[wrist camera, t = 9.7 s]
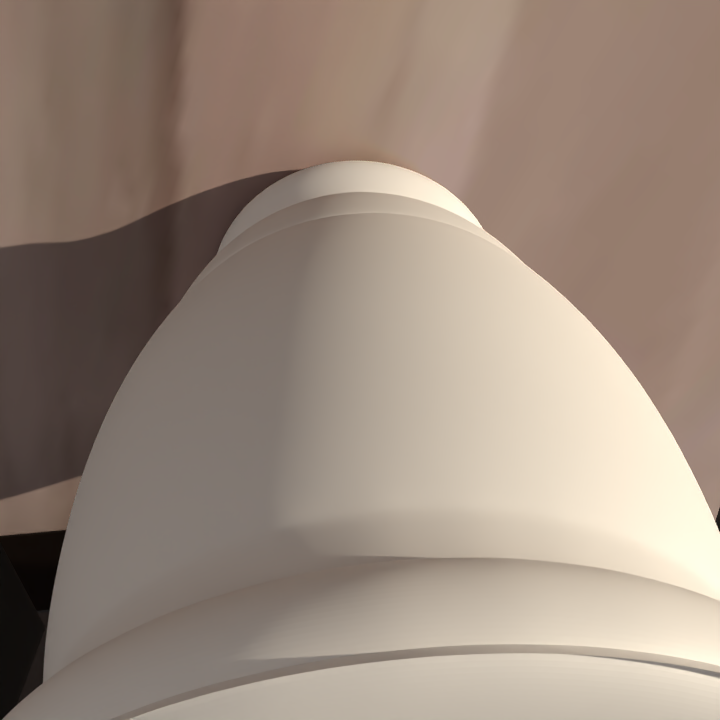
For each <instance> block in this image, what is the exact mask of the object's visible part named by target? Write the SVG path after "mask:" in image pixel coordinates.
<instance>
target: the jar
mask: <svg viewBox="0 0 720 720" xmlns="http://www.w3.org/2000/svg"><path fill="white" fill-rule="evenodd" d="M2 720H720V532H719V529H718V527H717V525H716V522H715V520H714V518H713V515H712V513H711V511H710V509H709V507H708V504H707V502H706V500H705V498H704V496H703V494H702V492H701V489H700V487H699V485H698V483H697V481H696V479H695V477H694V475H693V473H692V471H691V469H690V467H689V465H688V463H687V461H686V459H685V458H684V456H683V454H682V452H681V450H680V448H679V446H678V445H677V443H676V441H675V439H674V437H673V436H672V434H671V432H670V430H669V429H668V427H667V425H666V424H665V422H664V420H663V419H662V417H661V415H660V414H659V412H658V410H657V409H656V407H655V406H654V404H653V403H652V401H651V399H650V398H649V396H648V395H647V393H646V392H645V390H644V389H643V388H642V386H641V385H640V383H639V382H638V380H637V379H636V378H635V376H634V375H633V373H632V372H631V371H630V369H629V368H628V367H627V365H626V364H625V363H624V362H623V360H622V359H621V358H620V356H619V355H618V354H617V353H616V351H615V350H614V349H613V348H612V347H611V345H610V344H609V343H608V342H607V341H606V340H605V338H604V337H603V336H602V335H601V334H600V333H599V332H598V330H597V329H596V328H595V327H594V326H593V325H592V324H591V323H590V322H589V321H588V320H587V319H586V318H585V317H584V316H583V315H582V314H581V313H580V312H579V311H578V310H577V309H576V308H575V307H574V306H573V305H572V304H571V303H570V302H569V301H568V300H567V299H566V298H565V297H564V296H563V295H562V294H560V293H559V292H558V291H557V290H556V289H555V288H554V287H553V286H551V285H550V284H549V283H548V282H547V281H546V280H544V279H543V278H542V277H541V276H539V275H538V274H537V273H536V272H534V271H533V270H532V269H531V268H529V267H528V266H527V265H525V264H524V263H523V262H522V261H521V260H520V259H519V258H518V257H517V256H516V255H515V254H513V253H512V252H511V251H510V250H509V249H508V248H507V247H505V246H504V245H503V244H502V243H500V242H499V241H498V240H497V239H495V238H494V237H493V236H491V235H490V234H489V233H487V232H486V231H484V230H483V228H482V226H481V225H480V223H479V222H478V220H477V219H476V218H475V216H474V215H473V214H472V213H471V212H470V210H469V209H468V208H467V207H466V206H465V205H464V204H463V203H462V202H461V201H460V200H459V199H458V198H457V197H456V196H454V195H453V194H452V193H451V192H449V191H448V190H447V189H445V188H444V187H442V186H441V185H439V184H438V183H436V182H434V181H433V180H431V179H429V178H427V177H425V176H423V175H421V174H419V173H416V172H414V171H411V170H408V169H405V168H402V167H399V166H395V165H391V164H386V163H381V162H373V161H339V162H331V163H325V164H320V165H316V166H313V167H309V168H306V169H303V170H300V171H298V172H295V173H293V174H291V175H288V176H286V177H284V178H283V179H281V180H279V181H277V182H275V183H274V184H272V185H271V186H269V187H268V188H266V189H265V190H263V191H262V192H261V193H260V194H258V195H257V196H256V197H255V198H254V199H253V200H251V201H250V202H249V203H248V204H247V205H246V206H245V207H244V209H243V210H242V211H241V212H240V213H239V214H238V216H237V217H236V218H235V220H234V221H233V222H232V224H231V225H230V227H229V229H228V230H227V232H226V234H225V236H224V238H223V240H222V242H221V244H220V247H219V249H218V252H217V255H216V256H215V257H214V258H213V259H212V260H211V261H210V262H209V264H208V265H207V266H206V267H205V268H204V269H203V271H202V272H201V273H200V274H199V276H198V277H197V278H196V279H195V281H194V282H193V283H192V285H191V286H190V288H189V289H188V290H187V292H186V293H185V295H184V296H183V298H182V300H181V301H180V302H179V303H178V305H177V306H176V307H175V308H174V309H173V310H172V311H171V313H170V314H169V315H168V316H167V317H166V319H165V320H164V321H163V322H162V324H161V325H160V326H159V327H158V329H157V330H156V331H155V333H154V334H153V336H152V337H151V338H150V340H149V341H148V343H147V344H146V345H145V347H144V348H143V350H142V351H141V353H140V354H139V356H138V358H137V359H136V361H135V362H134V364H133V366H132V367H131V369H130V371H129V372H128V374H127V376H126V377H125V379H124V381H123V383H122V385H121V386H120V388H119V390H118V392H117V394H116V396H115V398H114V400H113V402H112V404H111V406H110V408H109V410H108V412H107V414H106V416H105V418H104V421H103V423H102V425H101V427H100V430H99V432H98V435H97V437H96V439H95V442H94V444H93V447H92V449H91V452H90V455H89V457H88V460H87V463H86V466H85V469H84V472H83V475H82V477H81V481H80V484H79V487H78V490H77V493H76V497H75V500H74V503H73V507H72V510H71V514H70V518H69V521H68V525H67V529H66V533H65V537H64V541H63V545H62V550H61V554H60V559H59V563H58V568H57V573H56V578H55V583H54V588H53V594H52V600H51V606H50V612H49V619H48V626H47V634H46V644H45V655H44V670H43V683H42V684H41V685H40V686H39V687H37V688H36V689H35V690H34V691H33V692H31V693H30V694H29V695H28V696H27V697H25V698H24V699H23V700H22V701H21V702H20V703H19V704H17V705H16V706H15V707H14V708H13V709H12V710H11V711H10V712H9V713H8V714H7V715H6V716H5V717H4V718H3V719H2Z"/></svg>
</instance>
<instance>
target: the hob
mask: <svg viewBox="0 0 720 720" xmlns="http://www.w3.org/2000/svg"><path fill="white" fill-rule="evenodd" d="M65 533H66V531H56V532H45V533H34V534H23V535H12V536H2V537H0V543H1V545H2V547H3V549H4V550H5V552H6V554H7V556H8V558H9V560H10V562H11V564H12V565H13V567H14V569H15V571H16V573H17V575H18V577H19V579H20V580H21V582H22V584H23V586H24V588H25V590H26V592H27V594H28V595H29V597H30V599H31V601H32V603H33V605H34V607H35V609H36V610H37V612H38V614H39V616H40V618H41V620H42V622H43V624H44V625H45V627H46V628H45V631H44V633H43V636H42V639H41V642H40V644H39V647H38V650H37V652H36V655H35V658H34V660H33V663H32V666H31V668H30V671H29V674H28V676H27V679H26V682H25V685H24V687H23V690H22V693H21V695H20V698H19V701H18V703H17V704H19V703H20V702H21V701H22V700H23V699H24V698H25V697H27V696H28V695H29V694H30V693H31V692H33V691H34V690H35V689H36V688H37V687H39V686H40V685H41V684H42V683H43V670H44V655H45V644H46V634H47V626H48V619H49V612H50V606H51V600H52V594H53V588H54V583H55V578H56V573H57V568H58V563H59V559H60V554H61V550H62V545H63V541H64V537H65Z"/></svg>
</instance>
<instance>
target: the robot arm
mask: <svg viewBox="0 0 720 720" xmlns="http://www.w3.org/2000/svg"><path fill="white" fill-rule="evenodd" d="M715 522H716V525H717V527H718V529H719V532H720V509H719V512H718V515H717V518H716V521H715ZM45 628H46V627H45V625H44V624H43V622H42V620H41V618H40V616H39V614H38V612H37V610H36V609H35V607H34V605H33V603H32V601H31V599H30V597H29V595H28V594H27V592H26V590H25V588H24V586H23V584H22V582H21V580H20V579H19V577H18V575H17V573H16V571H15V569H14V567H13V565H12V564H11V562H10V560H9V558H8V556H7V554H6V552H5V550H4V549H3V547H2V545H1V543H0V720H2V719H3V718H4V717H5V716H6V715H7V714H8V713H9V712H10V711H11V710H12V709H13V708H14V707H15V706H16V705H17V703H18V701H19V698H20V695H21V693H22V690H23V687H24V685H25V682H26V679H27V676H28V674H29V671H30V668H31V666H32V663H33V660H34V658H35V655H36V652H37V650H38V647H39V644H40V642H41V639H42V636H43V633H44V631H45Z"/></svg>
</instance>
